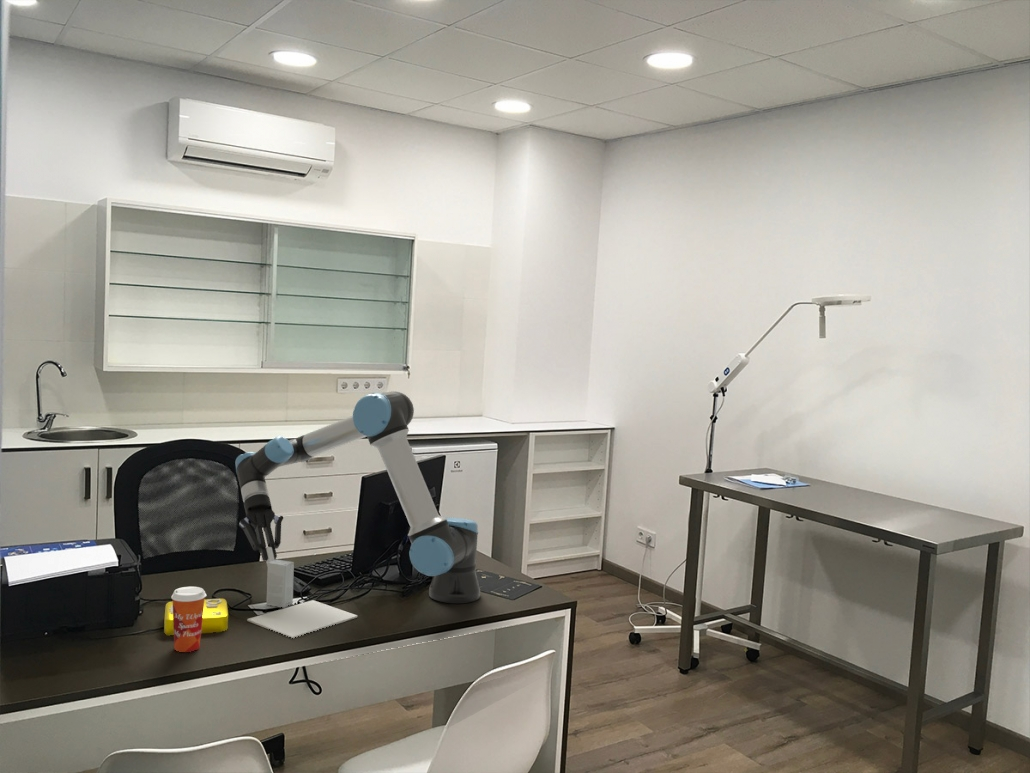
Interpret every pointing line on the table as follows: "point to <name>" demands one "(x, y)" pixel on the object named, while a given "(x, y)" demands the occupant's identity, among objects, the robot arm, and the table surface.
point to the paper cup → (187, 617)
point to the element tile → (212, 616)
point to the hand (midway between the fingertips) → (272, 569)
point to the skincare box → (280, 583)
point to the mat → (302, 618)
